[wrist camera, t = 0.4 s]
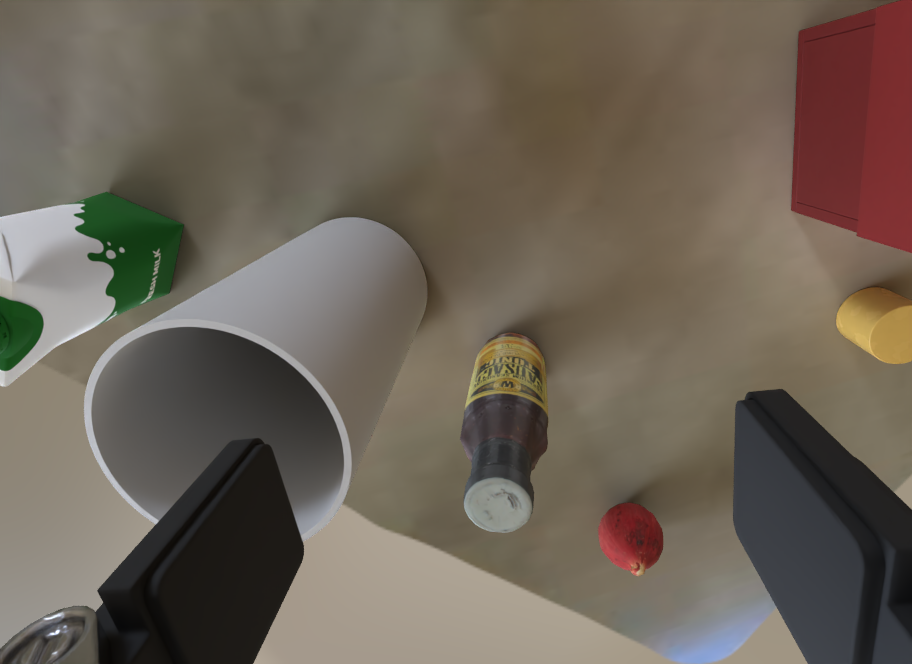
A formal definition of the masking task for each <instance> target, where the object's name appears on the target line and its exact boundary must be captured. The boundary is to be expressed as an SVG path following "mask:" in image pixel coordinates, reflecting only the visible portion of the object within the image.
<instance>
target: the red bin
mask: <svg viewBox="0 0 912 664" xmlns="http://www.w3.org/2000/svg"><path fill="white" fill-rule="evenodd" d="M876 10H877V8H875V9H872V10H869V11H865V12H862V13H858V14H855V15H852V16H848V17H845V18H842V19H838V20H835V21H831V22H828V23H825V24H821V25H818V26H815V27H811V28H808V29H804V30H801V31H799V38H798V62H797V86H796V110H795V133H794V157H793V181H792V204H791V210H792V211H794V212H797V213H800V214H803V215H806V216H809V217H812V218H815V219H818V220H821V221H824V222H827V223H830V224H833V225H836V226H839V227H842V228H845V229H848V230H851V231H854V232H857V228H858V216H859V205H860V193H861V182H862V170H863V159H864V147H865V136H866V124H867V113H868V101H869V90H870V79H871V67H872V56H873V44H874V33H875V21H876Z"/></svg>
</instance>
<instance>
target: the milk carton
mask: <svg viewBox="0 0 912 664" xmlns="http://www.w3.org/2000/svg"><path fill="white" fill-rule="evenodd" d="M183 227H184V225H183V224H181V223H179V222H176V221H174V220H172V219H169V218H167V217H164V216H162V215H160V214H157V213H155V212H153V211H150V210H148V209H146V208H143V207H141V206H139V205H136V204H134V203H131V202H129V201H127V200H124V199H122V198H120V197H117V196H115V195H113V194H110V193H108V192H105V193H102V194H99V195H95V196H92V197H89V198H86V199H83V200H80V201H77V202H74V203H69V204H64V205H59V206H54V207H49V208H44V209H39V210H34V211H29V212H24V213H19V214H14V215H9V216H3V217H0V386H3V387H5V386H8V385H9V384H11V383H12V382H13V381H14V380H15V379H17V378H18V377H19V376H20V375H22V374H23V373H24V372H25V371H26V370H28V369H29V368H30V367H31V366H33V365H34V364H35V363H36V362H38V361H39V360H40V359H41V358H42V357H44V356H45V355H46V354H47V353H49V352H50V351H51V350H52V349H54V348H55V347H57V346H58V345H60V344H62V343H64V342H66V341H68V340H70V339H72V338H74V337H76V336H78V335H80V334H82V333H84V332H86V331H88V330H90V329H92V328H94V327H96V326H97V325H99V324H101V323H103V322H105V321H107V320H109V319H111V318H113V317H115V316H117V315H119V314H121V313H123V312H125V311H127V310H129V309H131V308H134V307H136V306H139V305H141V304H144V303H146V302H149V301H151V300H154V299H156V298H159V297H161V296H164V295H166V294H169V293H170V289H171V284H172V279H173V274H174V269H175V265H176V260H177V255H178V250H179V246H180V241H181V236H182V231H183Z"/></svg>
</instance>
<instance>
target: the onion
mask: <svg viewBox="0 0 912 664" xmlns="http://www.w3.org/2000/svg"><path fill="white" fill-rule="evenodd" d="M599 541H600V546H601V548H602V551H603V552H604V553H605V555H606V556H607V557H608V558H609V559H610V560H611V562H612V563H614V564H615V565H617V566H619V567H621V568H623V569H625V570H629V571H631V572H632V573H633V574H634V575H637V576H640V575H642V574H644V572H645V569H648V568H650V567H651V566H652V565H654V564H655V563H656V562H657V561H658V559H659V557H660V555H661V552H662V550H663V532H662V528H661V527H660V525H659V523H658V522H657V520H656V518H655V516H654V515H653V514H652V513H651V512H649V511H648V510H647V509H645V508H644V507H642V506H641V505H638V504H634V503H630V502H629V503H623V504H618V505H616V506H614V507H613V508H611V509H610V510H609V511H608V512H607V513H606V514H605V515H604V516H603V518H602V519H601V522H600V525H599Z"/></svg>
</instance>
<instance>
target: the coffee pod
mask: <svg viewBox="0 0 912 664" xmlns="http://www.w3.org/2000/svg"><path fill="white" fill-rule="evenodd" d="M836 323H837V327H838V330H839V332H840V333H841V334H842V335H843V336H844V337H846V338H847V339H849V340H850V341H852V342H853V343H855V344H856V345H858V346H859V347H861V348H862V349H864V350H865V351H867V352H868V353H870V354H872V355H873V356H875V357H876V358H878V359H879V360H881V361H883V362H886V363H891V364H901V363H906V362H910V361H912V301H911V300H909V299H907V298H905V297H903V296H900V295H898V294H896V293H894V292H892V291H889V290H887V289H884V288H879V287H872V288H866V289H862V290H860V291H858V292H856V293H854V294H852V295H851V296H850V297H848V298H847V299H846V300H845V301H844V302H843V304H842V305H841V307H840V308H839V310H838V313H837V317H836Z"/></svg>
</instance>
